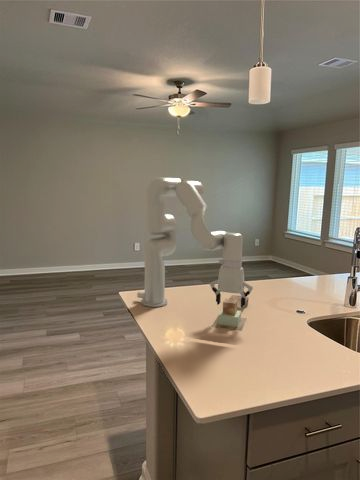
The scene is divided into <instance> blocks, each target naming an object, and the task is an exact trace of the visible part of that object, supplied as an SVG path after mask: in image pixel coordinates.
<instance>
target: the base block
mask: <svg viewBox="0 0 360 480" xmlns="http://www.w3.org/2000/svg"><path fill="white" fill-rule="evenodd" d="M217 317H218V324H219V325H226V326H233V327H238V326H239V323H240V321H241V318H242V313H241V311H238V310H237V312H236V314H235V316H234V315H226V314H223V308H222V309H221V310H220V312H219V313H218V314H217Z"/></svg>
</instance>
